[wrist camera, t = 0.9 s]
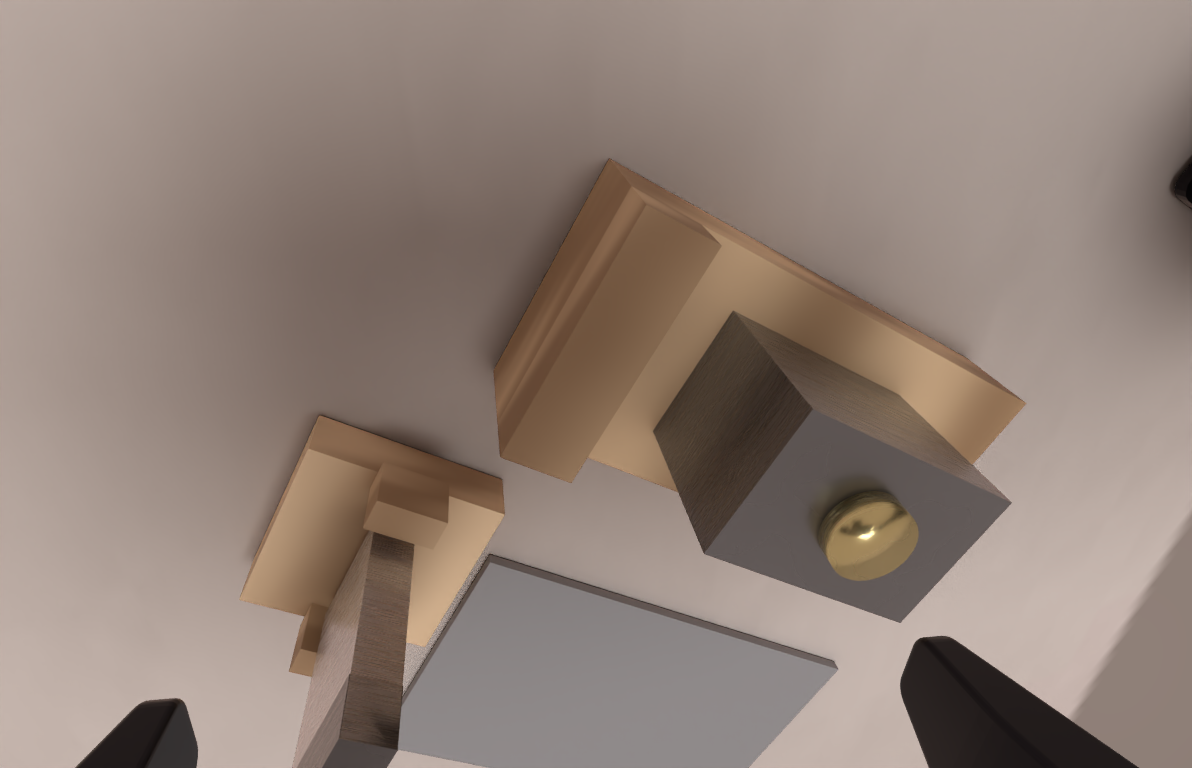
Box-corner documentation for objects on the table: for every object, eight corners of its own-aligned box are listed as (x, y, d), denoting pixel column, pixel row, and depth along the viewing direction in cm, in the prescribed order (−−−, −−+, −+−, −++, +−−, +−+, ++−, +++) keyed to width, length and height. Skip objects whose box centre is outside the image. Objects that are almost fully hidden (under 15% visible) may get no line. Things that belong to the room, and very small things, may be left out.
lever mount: (507, 470, 24) (514, 544, 21) (422, 614, 26) (417, 700, 23) (324, 404, 22) (300, 475, 19) (249, 567, 24) (218, 655, 21)
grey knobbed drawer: (899, 394, 21) (1029, 519, 16) (816, 498, 22) (912, 641, 18) (732, 310, 19) (825, 424, 14) (652, 431, 20) (712, 573, 15)
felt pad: (834, 661, 31) (838, 669, 31) (706, 802, 35) (708, 811, 34) (489, 554, 25) (490, 562, 25) (378, 736, 29) (377, 745, 29)
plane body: (966, 358, 25) (1064, 432, 21) (839, 512, 27) (904, 605, 23) (609, 158, 20) (646, 204, 16) (493, 370, 22) (500, 457, 18)
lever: (417, 519, 22) (397, 750, 15) (366, 612, 23) (328, 859, 17) (376, 506, 21) (338, 738, 15) (327, 601, 23) (272, 852, 16)
